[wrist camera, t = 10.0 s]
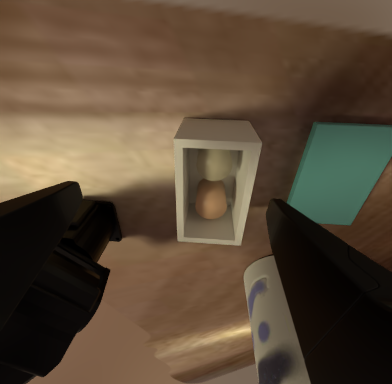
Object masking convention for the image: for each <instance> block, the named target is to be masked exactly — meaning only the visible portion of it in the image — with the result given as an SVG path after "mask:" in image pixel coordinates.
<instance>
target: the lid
mask: <svg viewBox="0 0 392 384" xmlns="http://www.w3.org/2000/svg"><path fill="white" fill-rule="evenodd" d="M391 156H392V125H380V124H355V123H331V122H314V123H313V126H312V129H311V132H310V135H309V138H308V141H307V144H306V147H305V150H304V153H303V156H302V159H301V162H300V165H299V168H298V171H297V173H296V176H295V179H294V182H293V185H292V188H291V191H290V194H289V197H288V200H287V204H289V205H290V206H292V207H293V208H295V209H296V210H298V211H299V212H301V213H302V214H304V215H305V216H307V217H308V218H310V219H311V220H313V221H314V222H316V223H322V224H338V225H351V224H352V222H353V220H354V219H355V217H356V215H357V214H358V212H359V210H360V209H361V207H362V205H363V203H364V202H365V200H366V198H367V197H368V195H369V193H370V192H371V190H372V188H373V187H374V185H375V183H376V182H377V180H378V178H379V177H380V175H381V173H382V172H383V170H384V168H385V167H386V165H387V163H388V162H389V160H390V158H391Z"/></svg>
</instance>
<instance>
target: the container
mask: <svg viewBox="0 0 392 384" xmlns="http://www.w3.org/2000/svg"><path fill="white" fill-rule="evenodd" d="M244 284H245V291H246V298H247V305H248V312H249V319H250V326H251V333H252V340H253V347H254V353H255V360H256V367H257V374H258V381H259V384H311V383H310V380H309V376H308V373H307V369H306V366H305V362H304V360H305V359H304V358H303V355H302V352H301V348H300V345H299V341H298V338H297V334H296V331H295V327H294V324H293V321H292V317H291V314H290V310H289V307H288V303H287V300H286V297H285V293H284V290H283V286H282V283H281V279H280V276H279V273H278V269H277V266H276V262H275V259H274V255H273V256H268V257H265V258H262V259H259V260H257V261H255V262H254V263H252V264H251V265H250V266H249V267H248V268H247V269H246V271H245V273H244Z"/></svg>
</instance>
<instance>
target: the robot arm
mask: <svg viewBox="0 0 392 384" xmlns="http://www.w3.org/2000/svg"><path fill="white" fill-rule="evenodd" d="M110 206H111V207H110ZM266 220H267V226H268V232H269V239H270V244H271V248H272V252H273V255H274V259H275V262H276V266H277V269H278V273H279V276H280V279H281V283H282V286H283V290H284V293H285V297H286V300H287V303H288V307H289V310H290V314H291V317H292V321H293V324H294V327H295V331H296V334H297V338H298V341H299V345H300V348H301V352H302V355H303V358H304V359H305V360H304V362H305V366H306V369H307V373H308V376H309V380H310V383H311V384H392V272H391V271H389V270H387V269H386V268H384V267H382V266H381V265H379V264H378V263H376V262H374V261H373V260H371V259H370V258H368V257H367V256H365V255H363V254H362V253H360V252H359V251H357V250H356V249H354V248H353V247H351V246H350V245H348V244H347V243H345V242H344V241H342V240H341V239H340V238H338V237H337V236H335V235H334V234H332V233H331V232H329V231H328V230H326V229H325V228H323V227H322V226H320V225H319V224H317V223H316V222H314V221H313V220H311V219H310V218H308V217H307V216H305V215H304V214H302V213H301V212H299V211H298V210H296V209H295V208H293V207H292V206H290V205H289V204H287V203H286V202H284V201H283V200H281V199H275V198H272V199H271V200H270V203H269V206H268V209H267V212H266ZM121 240H122V234H121V230H120V226H119V222H118V218H117V214H116V210H115V206H114V204H113V203H111V202H101V201H86V200H83V196H82V192H81V189H80V186H79V183H78V182H74V181H66V182H63V183H60V184H57V185H54V186H51V187H48V188H45V189H42V190H39V191H35V192H32V193H29V194H26V195H23V196H20V197H17V198H14V199H11V200H8V201H5V202H2V203H0V384H26V383H28V382H29V381H30V380H31V379H33V378H34V377H35V376H40V377H44V376H46V375H47V374H48V373H49V372H50V371H52V370H53V369H54V368H55V367H56V366H57V365H58V364H59V363H60V362H61V360H62V358H63V356H64V354H65V352H66V351H67V349H68V347H69V345H70V343H71V341H72V340H73V338H74V337H75V335H76V333H78V332H80V331H81V330H82V329H83V328H84V327H85V326H86V325H87V324H88V323H89V321H90V320H91V319H92V317H93V316H94V314H95V312H96V310H97V309H98V307H99V305H100V302H101V300H102V296H103V293H104V290H105V286H106V283H107V280H108V276H109V273H110V269H108V268H105V267H103V266H101V265H100V264H98V263H97V262H98V260H99V258H100V257H101V255H102V253H103V251H104V250H105V248H106V246H107V244H108V243H109V241H117V242H119V241H121Z"/></svg>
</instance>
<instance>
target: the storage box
mask: <svg viewBox="0 0 392 384" xmlns="http://www.w3.org/2000/svg"><path fill="white" fill-rule="evenodd" d="M261 147H262V141H261V140H260V138H259V137H258V135H257V133H256V132H255V130H254V128H253V127H252V125H251V123H250V122H249V121H245V120H221V119H197V118H184V119H183V121H182V123H181V125H180V127H179V129H178V131H177V133H176V135H175V137H174V160H175V187H176V213H177V240H178V241H181V242H196V243H210V244H225V245H239V246H241V241H242V237H243V232H244V227H245V223H246V218H247V213H248V208H249V204H250V199H251V194H252V190H253V185H254V180H255V175H256V171H257V166H258V161H259V157H260V152H261Z"/></svg>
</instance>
